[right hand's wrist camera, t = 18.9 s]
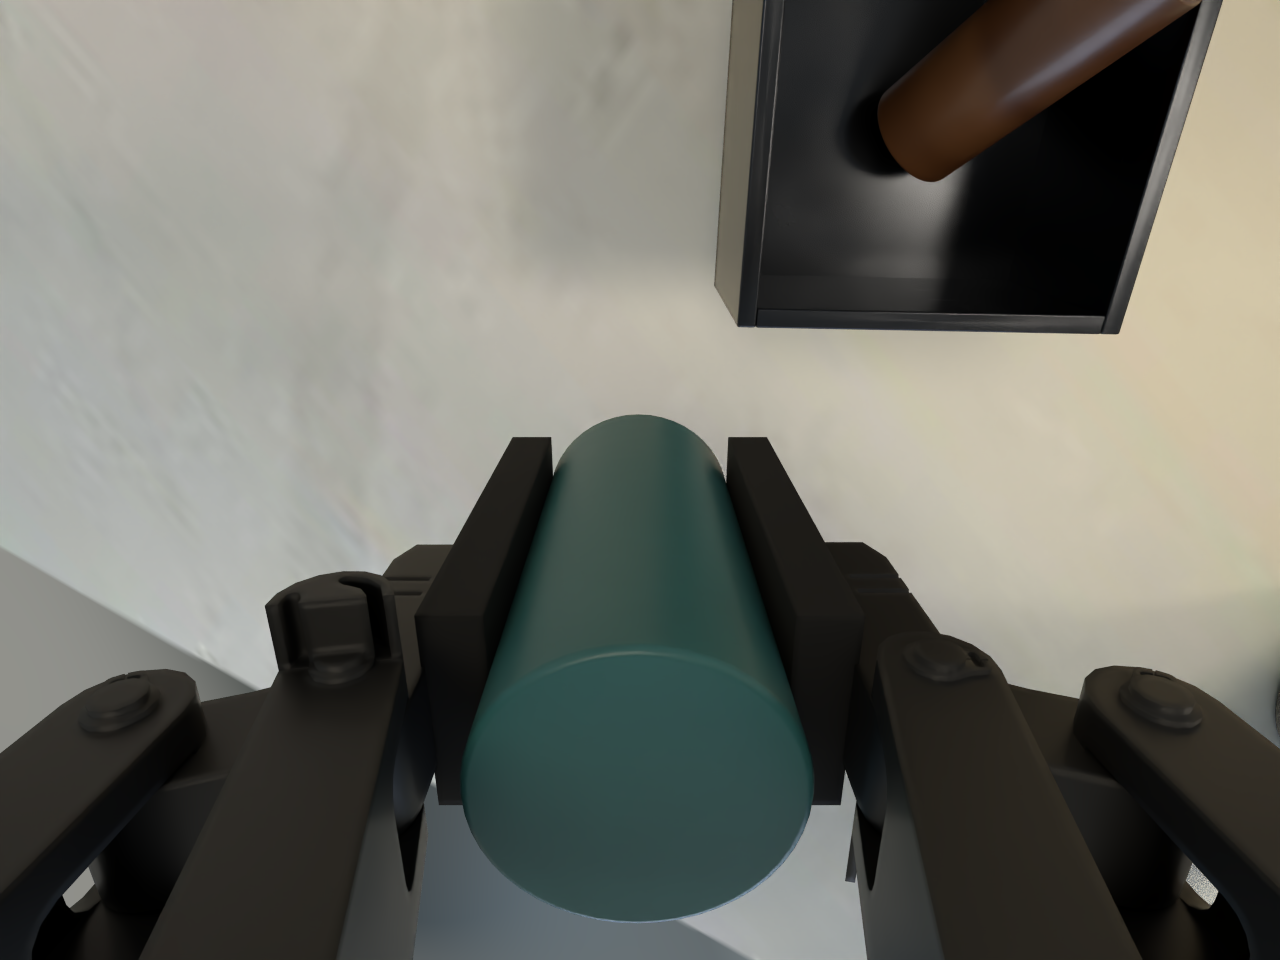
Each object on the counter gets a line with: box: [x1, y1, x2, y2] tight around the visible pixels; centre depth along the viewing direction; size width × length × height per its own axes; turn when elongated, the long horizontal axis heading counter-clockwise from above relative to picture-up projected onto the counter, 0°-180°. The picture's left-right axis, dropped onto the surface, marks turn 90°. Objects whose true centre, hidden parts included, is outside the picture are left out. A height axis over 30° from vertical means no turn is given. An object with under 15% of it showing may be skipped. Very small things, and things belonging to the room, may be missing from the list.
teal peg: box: [460, 415, 814, 923], centre depth 11 cm, size 4×4×8 cm
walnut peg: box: [877, 0, 1202, 182], centre depth 21 cm, size 4×4×8 cm
